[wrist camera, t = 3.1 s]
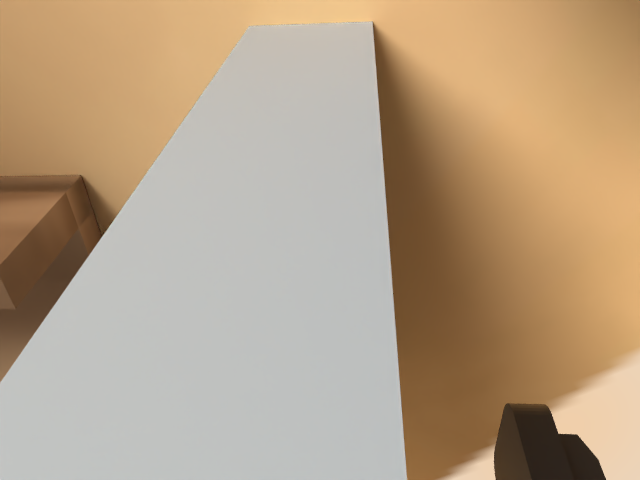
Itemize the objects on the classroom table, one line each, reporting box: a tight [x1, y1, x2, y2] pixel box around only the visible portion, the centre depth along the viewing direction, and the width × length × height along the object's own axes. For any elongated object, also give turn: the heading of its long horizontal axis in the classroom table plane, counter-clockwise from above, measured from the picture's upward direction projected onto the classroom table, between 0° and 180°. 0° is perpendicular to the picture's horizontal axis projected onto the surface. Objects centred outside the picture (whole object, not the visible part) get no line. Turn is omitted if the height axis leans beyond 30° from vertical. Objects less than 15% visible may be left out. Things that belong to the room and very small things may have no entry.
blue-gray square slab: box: [0, 22, 407, 480], centre depth 12 cm, size 12×3×12 cm, turn 2°
